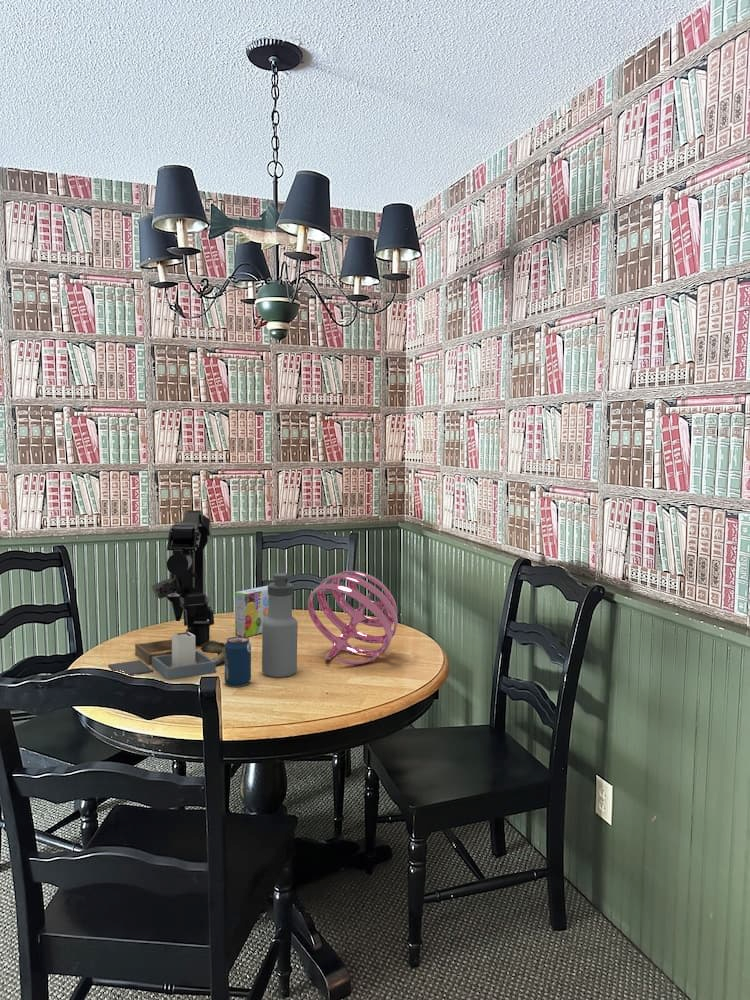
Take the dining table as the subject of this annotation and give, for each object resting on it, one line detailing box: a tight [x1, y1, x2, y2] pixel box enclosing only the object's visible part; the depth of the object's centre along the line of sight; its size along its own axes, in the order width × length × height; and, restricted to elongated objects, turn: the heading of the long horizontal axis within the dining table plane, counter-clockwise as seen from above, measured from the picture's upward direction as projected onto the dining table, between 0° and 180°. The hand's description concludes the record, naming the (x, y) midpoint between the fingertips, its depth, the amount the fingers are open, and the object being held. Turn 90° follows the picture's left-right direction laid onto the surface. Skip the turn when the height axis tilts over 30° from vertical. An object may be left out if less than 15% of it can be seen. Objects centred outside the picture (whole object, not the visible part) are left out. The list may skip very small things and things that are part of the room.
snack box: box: [234, 585, 269, 638], centre depth 253 cm, size 21×6×15 cm, turn 144°
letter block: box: [171, 631, 196, 668], centre depth 206 cm, size 5×5×10 cm
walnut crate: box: [134, 639, 172, 666], centre depth 219 cm, size 14×14×3 cm
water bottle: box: [261, 572, 299, 678], centre depth 205 cm, size 10×10×28 cm
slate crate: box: [151, 649, 217, 681], centre depth 206 cm, size 14×14×3 cm
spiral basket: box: [307, 570, 398, 666], centre depth 219 cm, size 28×28×27 cm
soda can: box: [224, 636, 252, 688], centre depth 195 cm, size 7×7×12 cm
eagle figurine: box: [199, 640, 226, 666], centre depth 214 cm, size 8×7×9 cm
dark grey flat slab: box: [107, 659, 154, 676], centre depth 206 cm, size 9×12×1 cm
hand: (183, 624), depth 205 cm, fingers open, 9 cm apart
